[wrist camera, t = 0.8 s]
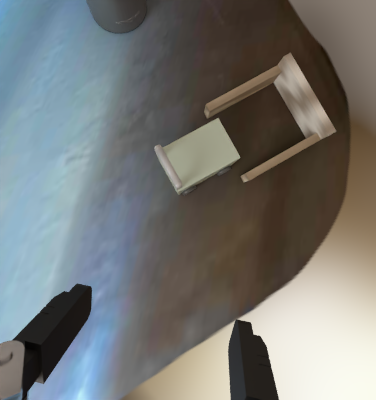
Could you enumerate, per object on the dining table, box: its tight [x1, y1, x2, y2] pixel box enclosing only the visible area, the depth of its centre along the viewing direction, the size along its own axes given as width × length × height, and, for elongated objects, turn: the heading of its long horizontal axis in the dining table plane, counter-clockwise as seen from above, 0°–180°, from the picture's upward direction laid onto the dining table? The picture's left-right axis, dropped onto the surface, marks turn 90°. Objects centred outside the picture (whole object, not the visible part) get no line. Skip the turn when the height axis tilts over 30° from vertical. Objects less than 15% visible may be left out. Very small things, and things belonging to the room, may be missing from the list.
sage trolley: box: [155, 118, 241, 196], centre depth 32 cm, size 8×10×10 cm
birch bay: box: [204, 53, 336, 182], centre depth 35 cm, size 13×14×5 cm
